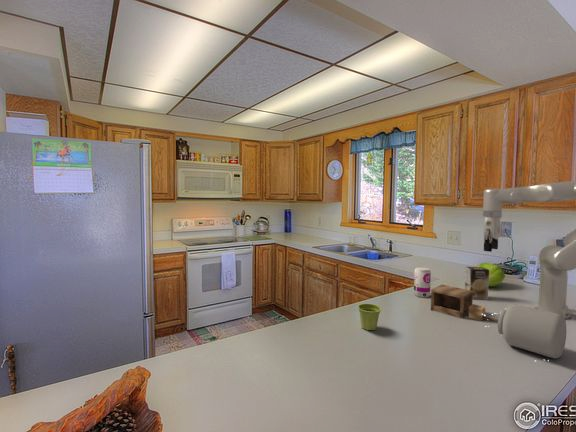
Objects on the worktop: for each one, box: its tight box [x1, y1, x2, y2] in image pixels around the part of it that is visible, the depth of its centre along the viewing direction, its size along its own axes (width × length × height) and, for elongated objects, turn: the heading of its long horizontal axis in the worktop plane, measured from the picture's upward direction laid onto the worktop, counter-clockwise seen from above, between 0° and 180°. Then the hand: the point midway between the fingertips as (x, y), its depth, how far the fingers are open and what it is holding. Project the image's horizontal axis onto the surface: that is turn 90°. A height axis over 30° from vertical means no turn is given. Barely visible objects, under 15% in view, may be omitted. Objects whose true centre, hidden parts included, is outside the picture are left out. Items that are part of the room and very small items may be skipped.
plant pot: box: [357, 302, 382, 331], centre depth 127 cm, size 9×9×9 cm
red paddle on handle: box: [468, 303, 498, 323], centre depth 133 cm, size 17×5×6 cm, turn 43°
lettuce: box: [476, 262, 506, 288], centre depth 185 cm, size 15×22×15 cm
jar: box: [482, 304, 567, 362], centre depth 111 cm, size 19×15×25 cm
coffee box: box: [464, 266, 489, 301], centre depth 164 cm, size 9×6×16 cm
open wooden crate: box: [430, 284, 474, 319], centre depth 145 cm, size 14×12×10 cm
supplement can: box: [413, 266, 432, 299], centre depth 168 cm, size 8×8×15 cm
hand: (490, 250), depth 148 cm, fingers open, 9 cm apart
